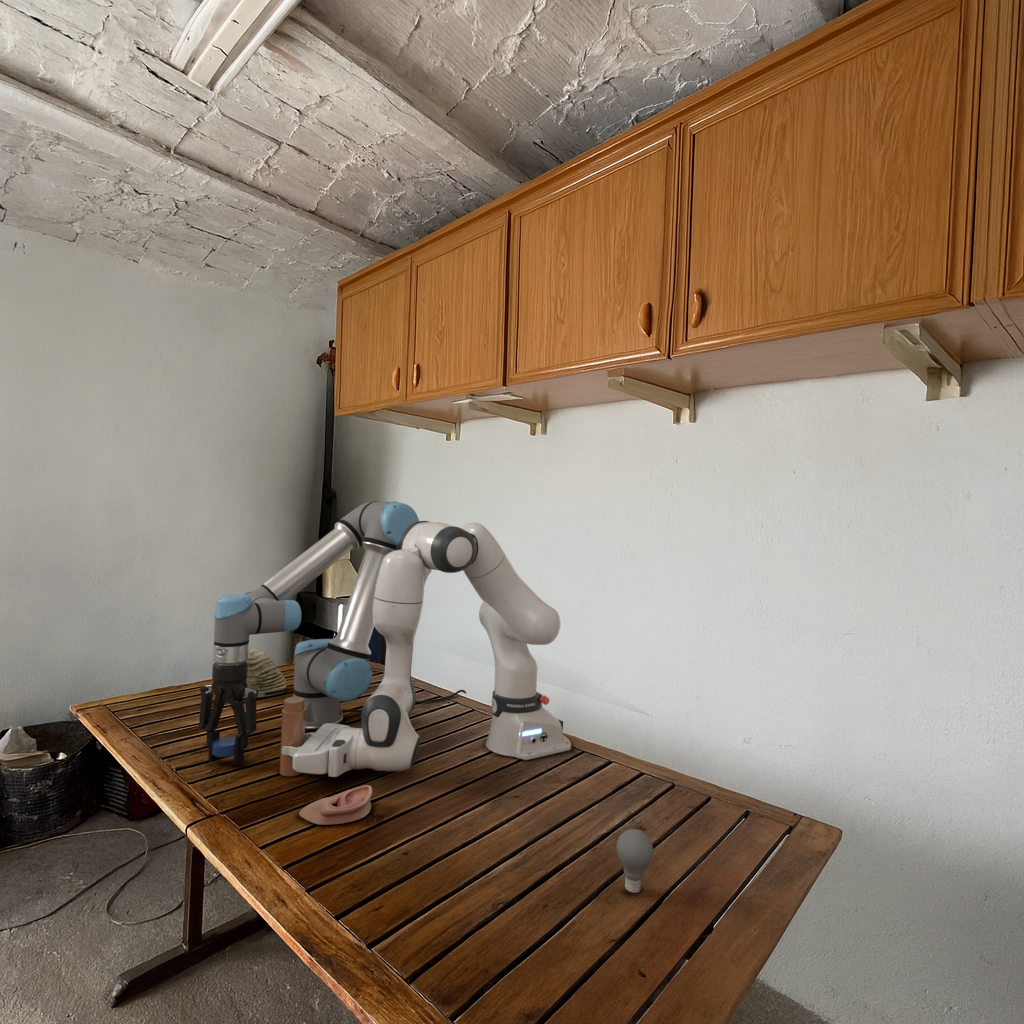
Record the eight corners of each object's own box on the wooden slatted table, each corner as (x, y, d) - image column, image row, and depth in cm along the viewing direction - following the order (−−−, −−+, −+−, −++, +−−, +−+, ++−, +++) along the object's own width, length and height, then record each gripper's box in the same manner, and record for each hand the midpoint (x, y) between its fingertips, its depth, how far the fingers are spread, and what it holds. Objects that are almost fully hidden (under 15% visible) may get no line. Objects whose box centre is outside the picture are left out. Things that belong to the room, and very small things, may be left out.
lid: (245, 751, 148) (245, 741, 148) (220, 759, 143) (220, 748, 143) (232, 744, 151) (232, 734, 151) (207, 751, 147) (207, 741, 147)
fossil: (218, 695, 195) (220, 647, 195) (278, 685, 208) (279, 640, 207) (228, 703, 189) (230, 653, 188) (289, 692, 201) (290, 645, 201)
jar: (275, 771, 145) (277, 699, 145) (295, 764, 149) (298, 694, 149) (287, 778, 142) (289, 704, 141) (307, 771, 145) (310, 700, 145)
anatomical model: (291, 800, 123) (320, 775, 134) (290, 820, 123) (320, 794, 134) (354, 810, 120) (379, 784, 132) (353, 830, 121) (378, 803, 132)
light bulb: (610, 879, 108) (613, 822, 108) (644, 879, 109) (647, 822, 109) (619, 902, 102) (622, 840, 102) (655, 901, 103) (658, 840, 103)
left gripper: (183, 662, 145) (178, 762, 145) (258, 669, 142) (253, 772, 142) (204, 654, 152) (200, 750, 153) (276, 661, 149) (272, 759, 149)
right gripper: (361, 718, 155) (306, 715, 155) (334, 751, 134) (270, 747, 135) (360, 744, 155) (305, 740, 156) (332, 780, 134) (269, 776, 135)
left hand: (226, 760), depth 147 cm, fingers closed on lid, 6 cm apart
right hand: (288, 743), depth 145 cm, fingers closed on jar, 5 cm apart
